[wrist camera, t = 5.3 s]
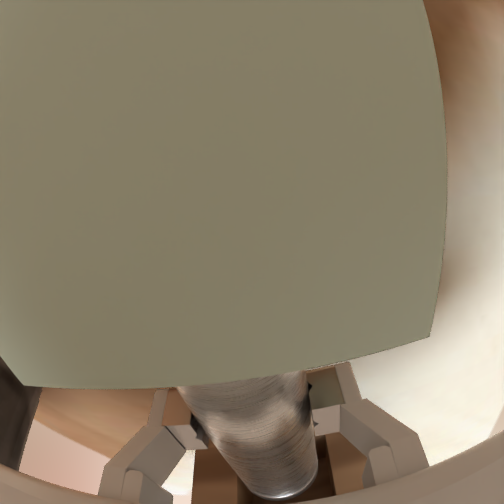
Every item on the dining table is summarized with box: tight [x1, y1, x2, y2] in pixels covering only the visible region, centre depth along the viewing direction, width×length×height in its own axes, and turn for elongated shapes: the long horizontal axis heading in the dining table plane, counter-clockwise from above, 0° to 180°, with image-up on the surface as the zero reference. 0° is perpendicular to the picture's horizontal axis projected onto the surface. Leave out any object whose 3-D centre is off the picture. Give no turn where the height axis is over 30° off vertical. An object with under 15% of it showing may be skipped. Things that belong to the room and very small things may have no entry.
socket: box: [191, 426, 367, 504], centre depth 14 cm, size 5×10×8 cm, turn 102°
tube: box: [176, 369, 318, 501], centre depth 8 cm, size 16×4×4 cm, turn 12°
